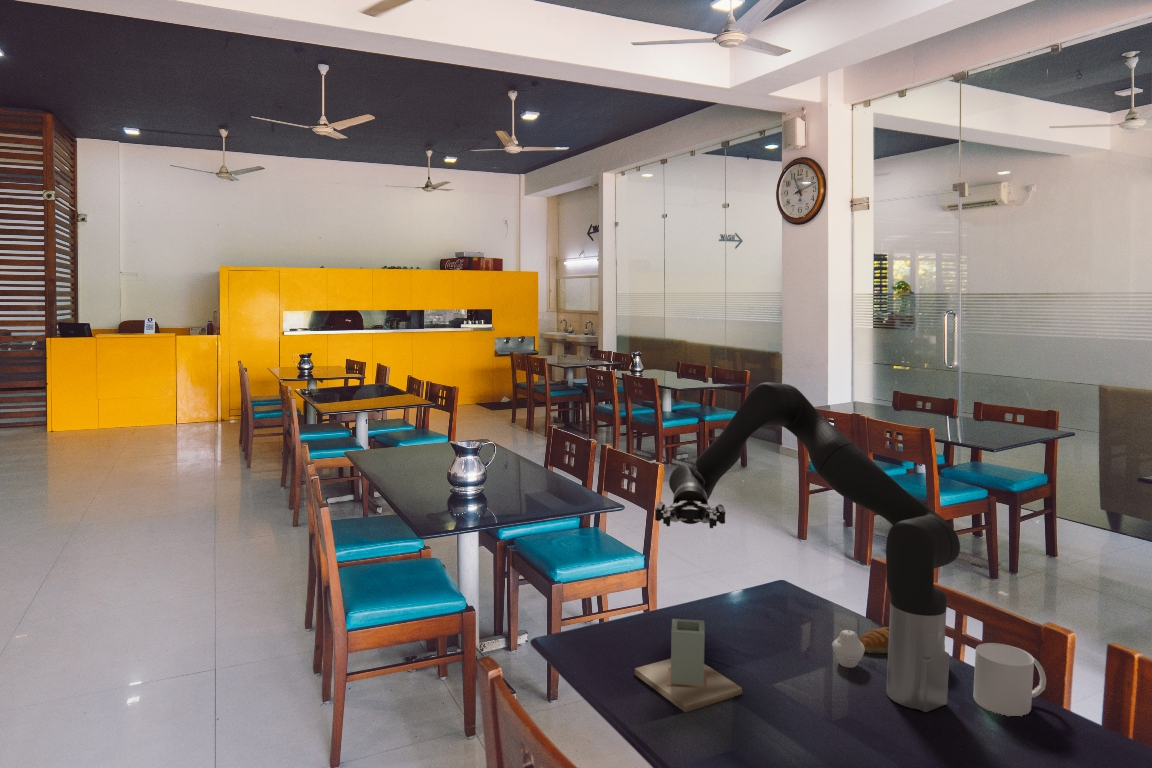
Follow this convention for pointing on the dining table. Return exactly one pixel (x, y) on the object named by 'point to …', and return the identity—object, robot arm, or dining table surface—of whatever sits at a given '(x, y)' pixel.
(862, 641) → the pastry
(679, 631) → the sleeve
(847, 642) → the white piece
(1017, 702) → the mug
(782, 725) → the dining table surface
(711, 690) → the post board
